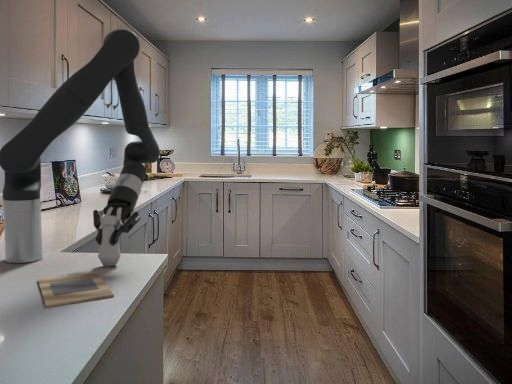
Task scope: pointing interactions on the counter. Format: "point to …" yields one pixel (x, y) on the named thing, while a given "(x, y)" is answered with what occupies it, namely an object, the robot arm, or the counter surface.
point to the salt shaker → (107, 251)
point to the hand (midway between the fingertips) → (105, 243)
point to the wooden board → (73, 289)
